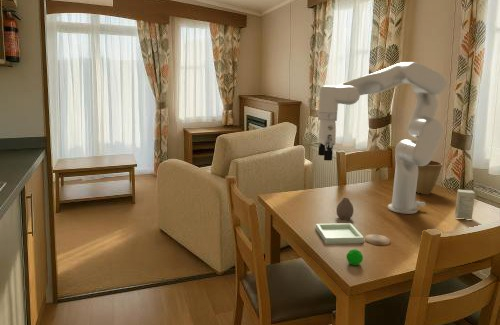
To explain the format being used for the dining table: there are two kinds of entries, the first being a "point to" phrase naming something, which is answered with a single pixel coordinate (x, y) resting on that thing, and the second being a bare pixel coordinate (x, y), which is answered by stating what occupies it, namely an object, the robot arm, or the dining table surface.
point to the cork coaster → (377, 239)
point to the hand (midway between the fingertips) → (324, 157)
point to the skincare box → (464, 204)
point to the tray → (339, 233)
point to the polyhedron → (354, 257)
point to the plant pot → (428, 177)
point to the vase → (345, 209)
